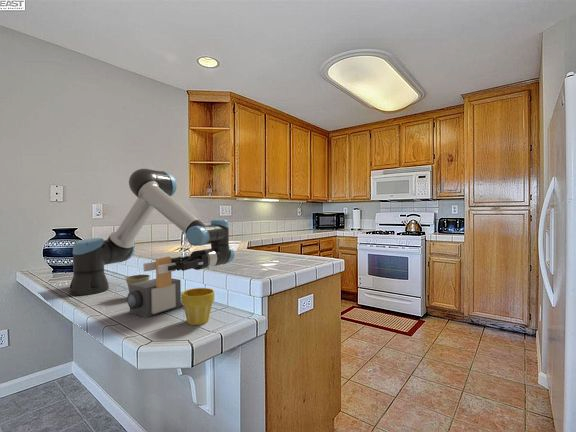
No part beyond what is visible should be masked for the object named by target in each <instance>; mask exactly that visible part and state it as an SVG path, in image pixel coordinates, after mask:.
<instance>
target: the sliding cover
mask: <svg viewBox="0 0 576 432" xmlns="http://www.w3.org/2000/svg"><path fill="white" fill-rule="evenodd" d="M171 258H172V257H171V256H165V257H159V258H155V262H156V270H155V279H156V288H153V289H151V305H152V314H155V313H158V312H161V311H164V310H167V309H170V308H173V307H176V294H175V284H172V280H171V278H172V272H167V273H162V274H158V266H159V265H165V264H170V263H171Z"/></svg>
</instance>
